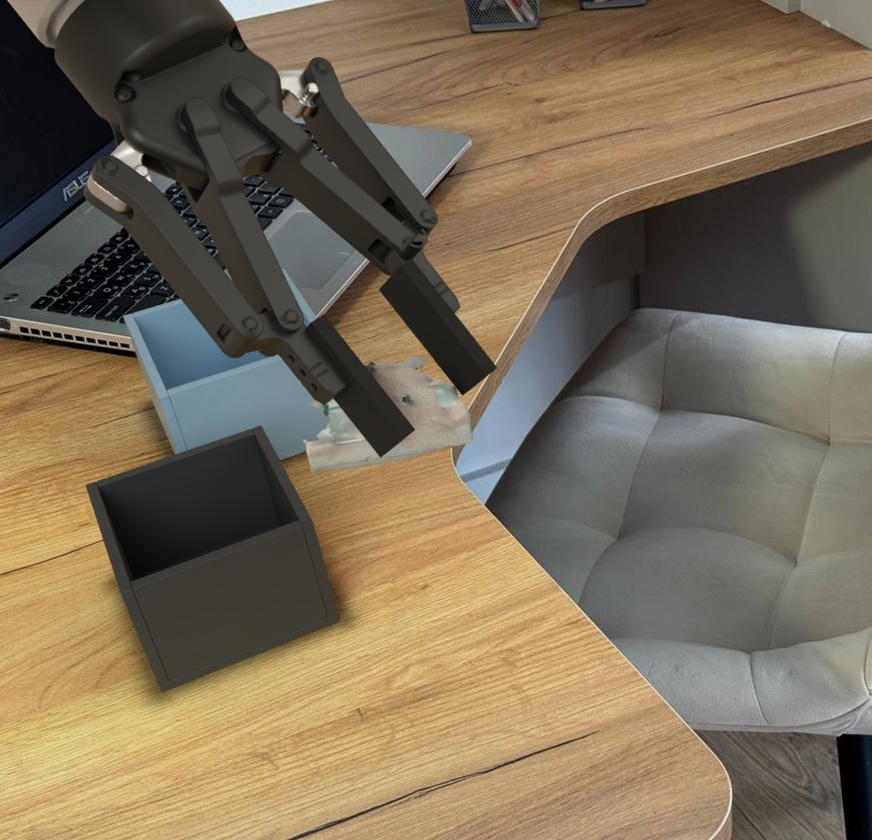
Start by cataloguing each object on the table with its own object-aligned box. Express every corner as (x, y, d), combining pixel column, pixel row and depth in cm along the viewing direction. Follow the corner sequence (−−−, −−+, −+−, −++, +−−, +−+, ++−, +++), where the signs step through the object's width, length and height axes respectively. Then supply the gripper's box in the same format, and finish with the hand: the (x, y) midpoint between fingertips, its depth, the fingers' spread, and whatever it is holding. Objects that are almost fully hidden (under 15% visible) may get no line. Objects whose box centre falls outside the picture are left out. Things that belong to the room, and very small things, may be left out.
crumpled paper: (478, 453, 64) (457, 335, 60) (313, 486, 63) (279, 369, 58) (466, 403, 67) (445, 288, 63) (309, 433, 66) (277, 318, 62)
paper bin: (191, 492, 85) (158, 397, 80) (154, 405, 93) (122, 315, 88) (355, 434, 89) (333, 341, 84) (306, 356, 97) (283, 267, 92)
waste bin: (161, 693, 71) (120, 593, 67) (124, 581, 79) (85, 484, 74) (340, 621, 75) (313, 521, 70) (289, 521, 82) (261, 424, 78)
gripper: (247, -7, 68) (525, 349, 70) (-74, 123, 57) (268, 544, 58) (295, -100, 62) (597, 291, 64) (-52, 24, 51) (326, 494, 53)
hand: (439, 411), depth 61 cm, fingers closed on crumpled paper, 5 cm apart
